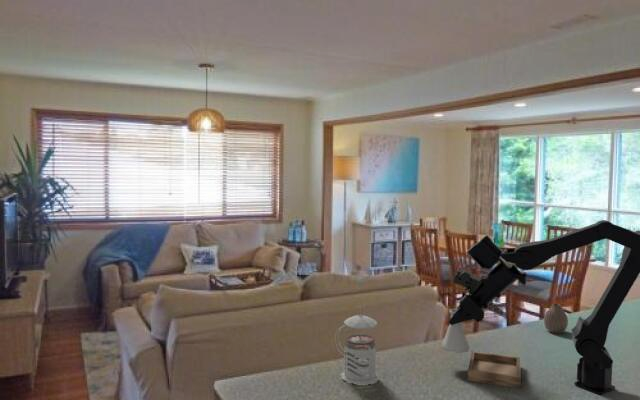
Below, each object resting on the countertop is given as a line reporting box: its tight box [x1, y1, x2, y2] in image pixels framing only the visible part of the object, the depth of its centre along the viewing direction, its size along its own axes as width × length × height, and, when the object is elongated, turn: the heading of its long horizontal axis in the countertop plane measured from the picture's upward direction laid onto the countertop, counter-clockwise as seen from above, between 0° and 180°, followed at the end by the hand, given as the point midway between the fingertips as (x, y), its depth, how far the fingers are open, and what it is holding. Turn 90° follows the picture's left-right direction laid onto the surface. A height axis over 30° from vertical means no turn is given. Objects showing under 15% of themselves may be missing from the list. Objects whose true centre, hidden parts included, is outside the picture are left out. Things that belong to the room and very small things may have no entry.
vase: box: [543, 303, 569, 335], centre depth 162 cm, size 7×7×9 cm
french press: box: [334, 276, 380, 386], centre depth 125 cm, size 10×12×25 cm
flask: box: [440, 308, 470, 353], centre depth 132 cm, size 7×7×10 cm
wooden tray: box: [467, 350, 522, 389], centre depth 129 cm, size 12×14×2 cm
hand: (450, 321), depth 132 cm, fingers closed on flask, 3 cm apart
